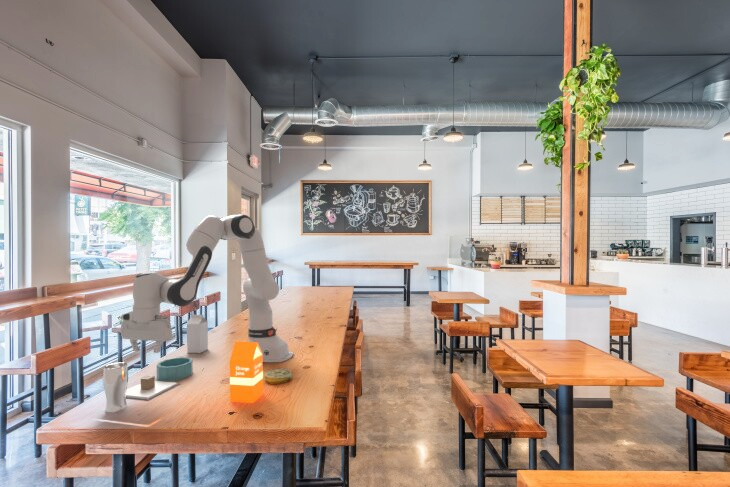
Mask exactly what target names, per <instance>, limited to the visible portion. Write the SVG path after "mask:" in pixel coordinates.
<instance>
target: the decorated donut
mask: <svg viewBox="0 0 730 487" xmlns="http://www.w3.org/2000/svg"><path fill="white" fill-rule="evenodd" d="M291 378H293V373H292V371H291V370H290V369H287V368H274V369H271V370H268V371H266V372H265V373H264V374H263V380H264V381H265V382H266V383H267V384H270V385H279V384H285V383H286V382H289V380H290V379H291Z"/></svg>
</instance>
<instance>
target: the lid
mask: <svg viewBox="0 0 730 487" xmlns="http://www.w3.org/2000/svg"><path fill="white" fill-rule="evenodd" d="M155 377H156V376H154V375H146V376H144V377H142V378H140V383H138V384H136V385H134V386H131V387H129V388H127V390H126V397H128V398H137V399H147V400H148V399H150V398H152V397H154V396H156V395H158V394H160V393H162V392H164V391H166V390H168V389H170V388H172V387H174V386H176V385H177V384H178V382H175V381H160V380H156V378H155Z"/></svg>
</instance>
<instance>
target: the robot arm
mask: <svg viewBox="0 0 730 487" xmlns="http://www.w3.org/2000/svg"><path fill="white" fill-rule="evenodd" d="M220 240H222V241H223V240H224V241H227V240H228V241H229V240H230V241H231V240H237V241H238V243H239V247H240V253H241V257H242V258H241V259H242V263H243V268H244V270H245V271H246V274H248V277H247V279H246V280H244V282H243V284H242V291H243V292H244V296H245V300H246V304H247V307H248V308H247V309H248V318H249V319H248V323H249V325H248V326H249V328H248V332H247V334H248V335H247V336H248V342H257V343H258V345H259V347H260V350H261V352H262V355H263V363H283V362H286V361H288V360H290V359H291V358H292V357H294V352H293V351H289V346H288V343H287V341H285V340H284V339H282V338H281V337H280V336H279V335H278V334H277V331H278V328H275V327H274V325H273V321H274V320H273V309H272V308H271V305H270V301H272V300H274V299H275V298H277V297H278V295H279V292H280V287H279V283H277V281H276V280H275V278H274V275H273V273H272V271H271V269H270V266H269V263H268V260H267V259H268V258H267V254H266V248H265V245H264V241H263V237H262V235H261V232H260V230H259V229H258V228H256V227H255V223H254V222H253V219H252V218H251V217H250V216H248V215H246V214H242V213H241V214H231V215H228V216H225V217H221V218H220V217H219V216H215V215H207V216H206V217H204V218H203V219H202V220H201V221H200V222H199V223H198V224H197V225H196V227H194V229H193V231H192V232H191V234H190V235H189V236H188V238H187V241H186V244H185V245H186V246H185V247H186V249H187V252H188V253H189V254H190V255H191V256H192V259H191V262H190V264H189V265H188V267H187V270H186V271H185V273H184V275H183V276H181V278H179V279H176V278H171V277H167V276H164V275H162V274H160V273H159V272H158V271H155V270H151V271H150V270H149V271H144V272H140V273H138V274H137V275H135V277H134V279H133V285H132V298H133V305H132V311H128V312H127V313H122V315H121V316H120V317H121V318H120V319H121V324H120V335H121V338H122V339H124V340H129V342H130V344H131V347H132V351H133V352H139V351H140V350H141V345H139V344H138V342H137V341H138V340H139V341H149V342H150V341H151V342H155V344H156V345H155V347H153V353H155V354H157V353H160V352H161V347H162V346H163V344H164V342H168V341H170V340H171V339H172V337H173V332H172V331H173V330H172V324H171V319H170V318H169V317H168V316H167V315H161V304H162V303H165V304H170V305H175V306H177V307H186V306H189V305H190V304H192V303H193V302H194V301H195V299H196V297H197V293H198V289H199V285H200V284H201V283H200V282H201V280H202V279H203V277H204V275H205V273H206V271H207V269H208V267H209V265H210V263H211V260H212V257H213V252H214V251H215V249H216V247H217V245H218V243H219V242H220Z"/></svg>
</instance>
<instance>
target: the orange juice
mask: <svg viewBox="0 0 730 487" xmlns="http://www.w3.org/2000/svg"><path fill="white" fill-rule="evenodd" d="M263 363H264V362H263V355H262V352H261V350H260V347H259V345H258V343H257V342H249V341H235V342H234V346H233V349H232V353H231V356H230V359H229V387H230V388H229V389H230V390H229V391H230V392H229V394H230V395H229V396H230V397H229V398H230V402H232V403H233V402H235V403H244V404H245V403H247V404H249V403H250V404H254V403H256V401H257V400H259V399H260V398H261V397H262V396H263V395H264V368H263V367H264V366H263V365H264V364H263Z"/></svg>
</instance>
